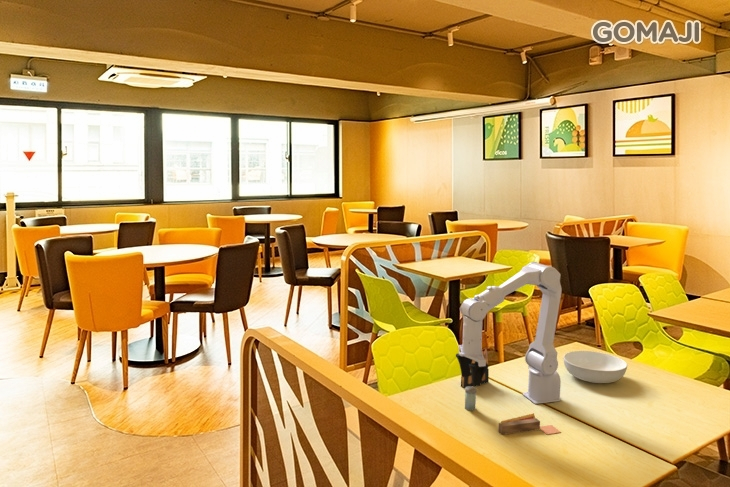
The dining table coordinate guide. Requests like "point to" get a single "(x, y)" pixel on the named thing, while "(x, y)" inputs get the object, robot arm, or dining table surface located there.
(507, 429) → the bar
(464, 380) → the ammunition clip
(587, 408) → the dining table surface
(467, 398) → the grey-green cylindrical peg
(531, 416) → the chocolate bar
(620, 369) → the serving bowl
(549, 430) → the terracotta pad
